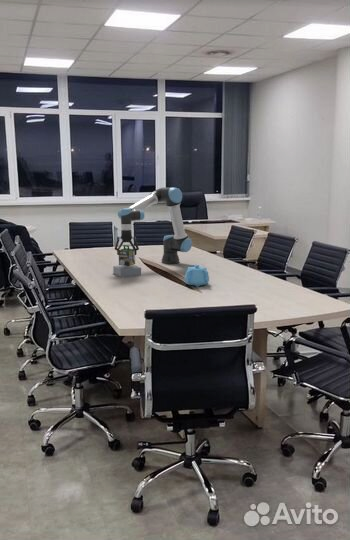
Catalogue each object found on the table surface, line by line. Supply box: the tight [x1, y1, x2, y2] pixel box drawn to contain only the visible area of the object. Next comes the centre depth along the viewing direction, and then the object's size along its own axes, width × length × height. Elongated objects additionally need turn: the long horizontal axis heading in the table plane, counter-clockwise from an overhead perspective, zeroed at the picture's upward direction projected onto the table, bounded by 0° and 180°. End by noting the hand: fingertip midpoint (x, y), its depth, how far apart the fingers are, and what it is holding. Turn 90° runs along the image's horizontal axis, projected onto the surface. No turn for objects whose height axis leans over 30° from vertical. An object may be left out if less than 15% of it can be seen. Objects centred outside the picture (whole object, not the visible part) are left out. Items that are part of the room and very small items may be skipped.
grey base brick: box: [112, 264, 142, 278], centre depth 365 cm, size 16×16×6 cm
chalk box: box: [118, 244, 136, 266], centre depth 363 cm, size 9×9×15 cm
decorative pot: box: [184, 264, 210, 288], centre depth 330 cm, size 16×16×14 cm
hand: (126, 259), depth 364 cm, fingers closed on chalk box, 10 cm apart
